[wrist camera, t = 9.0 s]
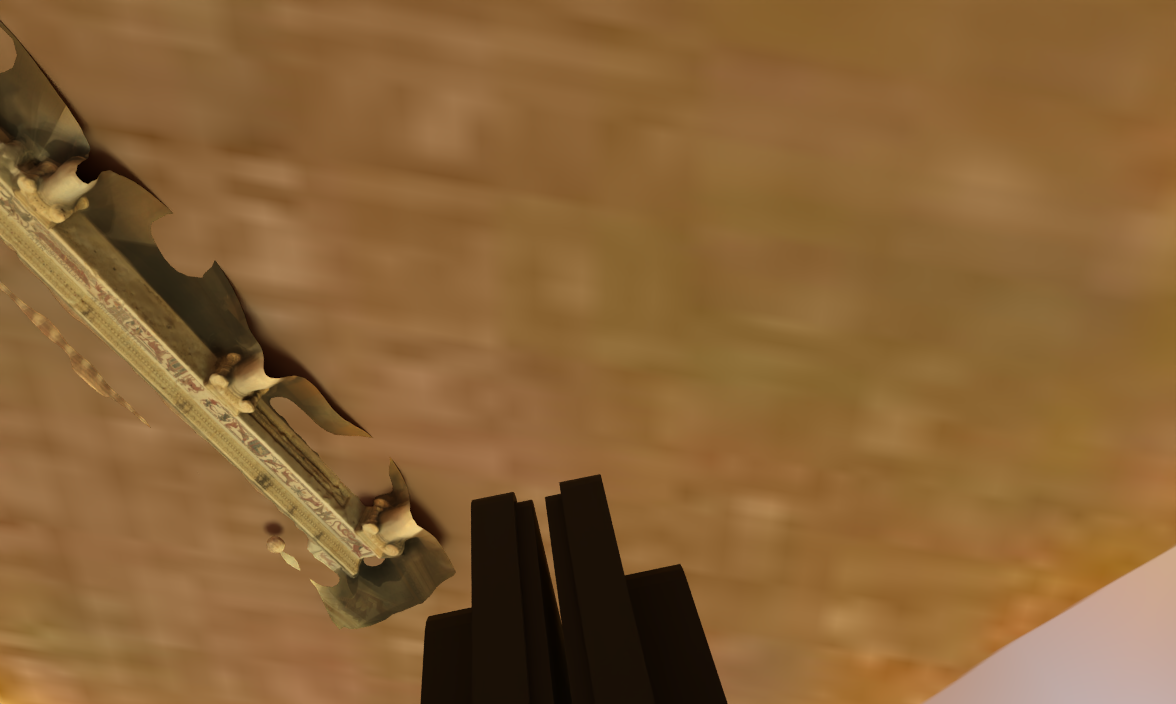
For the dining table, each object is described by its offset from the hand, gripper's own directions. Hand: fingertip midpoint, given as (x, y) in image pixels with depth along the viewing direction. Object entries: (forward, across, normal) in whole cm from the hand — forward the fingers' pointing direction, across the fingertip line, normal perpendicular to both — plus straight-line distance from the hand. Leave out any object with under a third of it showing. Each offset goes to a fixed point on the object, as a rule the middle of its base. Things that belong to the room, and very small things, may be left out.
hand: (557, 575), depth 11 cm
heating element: (+22, +14, +5) cm, 27 cm away
